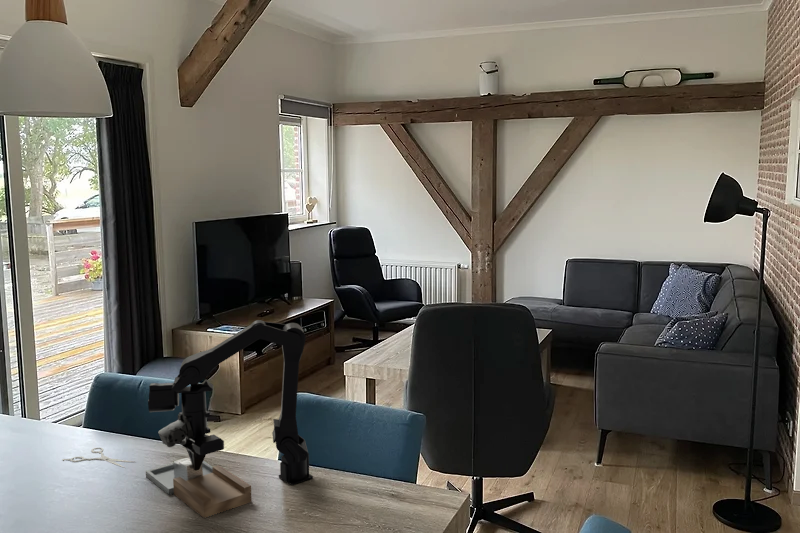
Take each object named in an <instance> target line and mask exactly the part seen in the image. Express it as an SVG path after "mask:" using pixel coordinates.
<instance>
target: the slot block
mask: <svg viewBox="0 0 800 533" xmlns="http://www.w3.org/2000/svg"><path fill="white" fill-rule="evenodd" d="M212 469H213V473H210V474H207V475H203V476H200V477H197V478H193V479H190V480H187V481H185V480H184V479H183V478H181V477H177V478H174V479H173V486H174V494H173V496H175V497H176V498H178V499H179V500H180V499H181V500H180V501H181V502H183V503H184V504H185V503H186V504H185V505H187V507H189V508H190V509H192V510H193V511H194V512H196V513H197V514H198V515H199V514H200V515H199V516H201V517H202V518H203V517H204V518H203V519H206V518H205V517H207V518H209V517H208V516H210V517H212V516H211V515H213V516H215V515H214V514H216V515H218V514H221V513H224V512H226V510H227V511H229V509H230V510H232V508H233V509H234V508H237V507H241V506H244V505H246V504H250V503H253V502H252V485H250V484H249V483H247V482H246V481H245V480H243V479H241V478H240V477H238V476H237V475H235V474H233V473H232V472H230V471H229V470H227V469H226V468H224V467H223V466H221V465H220V464H218V465H214V466H212ZM223 511H224V512H223ZM220 512H221V513H220ZM217 513H218V514H217Z"/></svg>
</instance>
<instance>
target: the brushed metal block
mask: <svg viewBox="0 0 800 533" xmlns="http://www.w3.org/2000/svg"><path fill="white" fill-rule="evenodd" d="M180 473H181V478H183V479H184V480H185V481H187V480H190V479H193V478H197V477H200V476H203V470H202V465H201V467H200V469H199V470H197V471H195V470H194V469H193V466H192V463H191V460H187V461H184V462H180Z"/></svg>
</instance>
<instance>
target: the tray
mask: <svg viewBox="0 0 800 533" xmlns="http://www.w3.org/2000/svg"><path fill="white" fill-rule="evenodd" d="M212 467H213V466H212V465H211V464H209V463H208V462H206V461H205V460H203V462H202V470H203V475H207V474H210V473H213V469H212ZM145 477H146V478H147V479H148V480H150V481H151V482H152V483H153V484H154V485H156V486H157V487H158V488H160V489H161V490H162V491H163V492H164V493H166V494H167V495H168V496H171V495H174V486H173V479H174V478H175V477H174V467H173V462H172V463H169V464H166V465H162V466H158V467H154V468H151V469H148V470H145Z"/></svg>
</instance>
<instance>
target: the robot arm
mask: <svg viewBox="0 0 800 533" xmlns="http://www.w3.org/2000/svg"><path fill="white" fill-rule="evenodd" d="M306 339H307V338H306V334H305V331H304V328H302V326H301V325H300V324H299V323H296V322H289V323H286V324H285V323H280V322H272V321H264V320H260V319H257V320H254V321H253V322H252V323H251V324H250V325H248V326H246V327H245V328H243V329H241V330H240V331H238V332H237V333H235V334H233V335H231V336H229V337H228V338H226V339H225V340H223V341H222V342H220V343H219V344H217V345H215V346H214V347H211V348H209V349H207V350H203V351H200V352H197V353H194V354H192V355H190V356H187V357H186V358H184V359H183V361H182V362H181V365H180V369H179V372H178V375H177V376H175V377H174V380H173V382H165V383H164V382H163V383H161V382H160V383H158V382H151V383H150V384H149V386H148V387H149V389H148V390H149V392H148V400H147V406H148V412H149V413H158V412H159V413H160V412H171V411H175V409H176V407H179V406H180V399H181V412H178V414H177V420H175V421H173V422H170V423H169V424H168V425H166V426H164V427H163V428H161V429H160V430H158V435H159V436H158V437H160V440H161V442H162V444H163V445H165V446H166V447H168V448H172V447H175V446H176V445H180V446H182V447H183V448H184V449H185V450H186V451H187V454H188V458H190V460H191V463H192V466H193V469H194V470H195V471H197V470H199V469H200V467H201V465H202V462H203V461H205V458H206V456H207V455H208V454H209V455H210V454H212V453H216V452H221V451H222V450H224V449H225V441H224V440H223V439H222V438H220V437H219V436H218V435H215V434H211V428H210V427H208V420H207V419H208V418H210V417H211V416H210V415H211V414H210V413H211V412H209V411H207V397H206V395H207V394H206V392H213V391H214V384H213V383H211V382H210V381H209V380H208V379H205V378H206V377H207V376H209V375H210V374H211V372H213V371H214V369H215V368H216V367H218V365H220V364H221V363H223V362H224V361H227V360H228V359H230V358H231V357H233V356H234V355H236V354H238V353H239V352H241V351H243V350H244V349H246V348H247V347H249V346H251V345H252V344H253V343H255V342H257V341H259V340H263V341H267V342H269V343H272V344H276V345H279V346H281V348H282V355H283V370H282V387H281V403H280V404H281V405H280V413H279V417H278V418H273V430H272V432H271V433H272V442H273V444H275V447H276V450H277V451H278V452H279V453H281V454H283V455H281V462H280V463H279V467H280V468H279V469H280V471H279V473H280V474H279V475H278V478H279V479H280V480H282V481H284V482H286V483H288V484H289V485H291V486H294V485H296V484H297V485H298V484H300V483H303V482H305V481H308V480H309V481H310V480H311V479H313V477H314V476H313V475H312V474H310V453H309V451H308V447H307V444H306V443H307V442H306V440H305V438H303V437H302V436H300V434H299V430H298V423H297V401H298V385H299V371H300V370H299V369H300V361H301V359H302V356H303V352H304V349H305V344H306V341H307V340H306ZM203 380H204V381H203ZM201 381H203V382H201ZM180 396H181V398H180ZM208 434H210V435H208Z"/></svg>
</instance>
